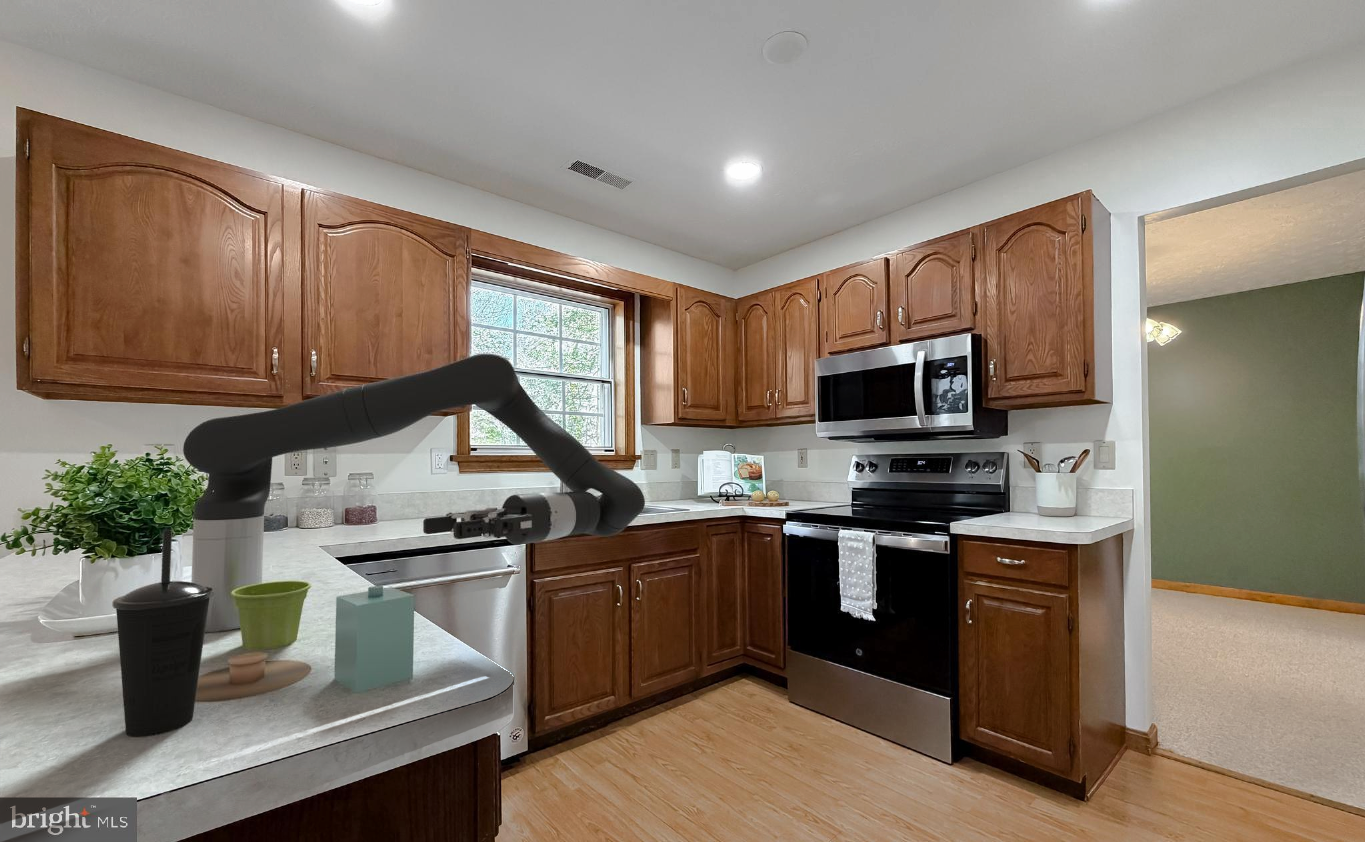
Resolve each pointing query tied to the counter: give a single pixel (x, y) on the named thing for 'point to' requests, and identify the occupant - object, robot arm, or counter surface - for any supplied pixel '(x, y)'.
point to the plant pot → (270, 613)
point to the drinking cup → (161, 650)
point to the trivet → (275, 678)
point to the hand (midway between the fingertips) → (439, 528)
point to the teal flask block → (374, 638)
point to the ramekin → (247, 667)
